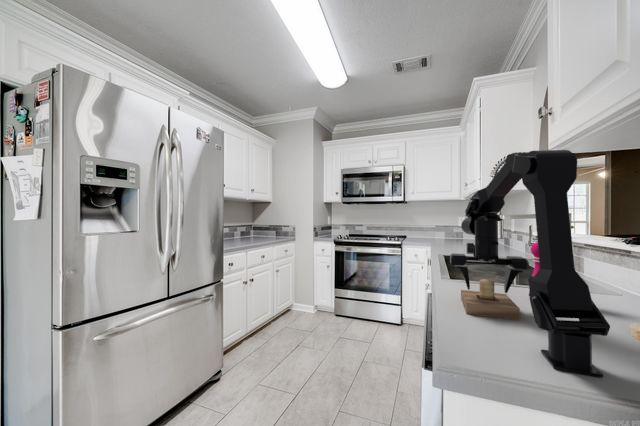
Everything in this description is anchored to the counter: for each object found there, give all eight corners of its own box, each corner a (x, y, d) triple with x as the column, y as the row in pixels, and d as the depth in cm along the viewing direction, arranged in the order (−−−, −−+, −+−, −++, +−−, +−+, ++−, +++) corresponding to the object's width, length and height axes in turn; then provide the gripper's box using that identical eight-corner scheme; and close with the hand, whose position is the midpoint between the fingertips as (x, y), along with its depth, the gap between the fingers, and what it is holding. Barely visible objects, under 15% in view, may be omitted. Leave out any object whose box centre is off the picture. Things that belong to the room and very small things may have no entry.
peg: (496, 311, 74) (495, 282, 74) (480, 309, 76) (480, 281, 76) (493, 307, 78) (493, 280, 78) (478, 305, 79) (478, 278, 79)
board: (519, 320, 68) (519, 308, 68) (466, 313, 72) (466, 302, 72) (505, 303, 81) (505, 293, 81) (461, 299, 85) (461, 289, 85)
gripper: (516, 235, 81) (517, 287, 81) (448, 234, 88) (449, 281, 88) (529, 238, 70) (530, 297, 70) (451, 236, 78) (451, 290, 77)
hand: (486, 290), depth 77 cm, fingers open, 9 cm apart
